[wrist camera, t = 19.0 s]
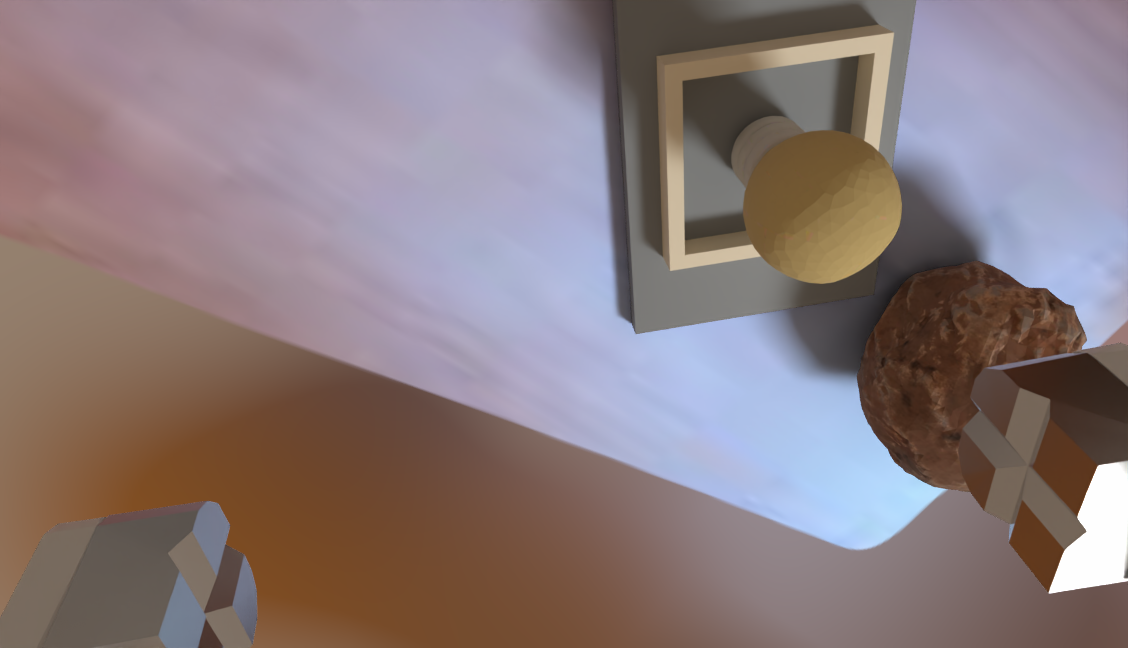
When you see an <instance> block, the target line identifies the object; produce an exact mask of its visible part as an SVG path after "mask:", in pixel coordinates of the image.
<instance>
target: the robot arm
mask: <svg viewBox="0 0 1128 648" xmlns="http://www.w3.org/2000/svg"><path fill="white" fill-rule="evenodd" d="M970 398H971V399H972V401H973V402H974V403H975V405H976V406H977V408H978V409H979V410H980V411H979V412H978V413H977V414H976V415H975V416H974V417H973V418H972V419H971V420H970V421H969V422H968V423H967V424H966V425H965V426H964V427H963V428H962V433H961V438H960V444H959V449H958V454H959V460H960V465H961V471H962V476H963V478H964V480H965V482H966V484H967V486H968V488H969V491H970V492H971V494H972V495H973V497H974V498H975V499H976V501H977V502H978V503H979V505H980V506H981V507H982V509H983V510H984V511H985V512H987V513H989V514H991V515H993V516H995V517H997V518H999V519H1001V520H1003V521H1005V522H1007V523H1009V524H1010V532H1009V544H1010V545H1011V546H1012V548H1013V549H1014V550H1015V551H1016V553H1017V554H1018V555H1019V556H1020V558H1021V559H1022V560H1023V562H1024V563H1025V564H1026V565H1027V567H1028V568H1029V569H1030V570H1031V572H1032V573H1033V574H1034V575H1035V577H1036V578H1037V579H1038V581H1039V582H1040V583H1041V584H1042V586H1043V587H1044V588H1045V590H1046V591H1047V592H1048V593H1054V592H1060V591H1066V590H1072V589H1078V588H1084V587H1091V586H1097V585H1103V584H1109V583H1115V582H1121V581H1128V345H1126V344H1122V343H1117V344H1111V345H1106V346H1101V347H1095V348H1090V349H1084V350H1079V351H1075V352H1073V353H1065V354H1060V355H1054V356H1049V357H1043V358H1038V359H1032V360H1026V361H1021V362H1015V363H1010V364H1004V365H999V366H993V367H987V368H984V369H983V370H982V371H981V373H980V374H979V375H978V376H977V377H976V379H975V381H974V385H973V389H972V392H971V396H970ZM229 527H230V525H229V523H228V521H227V519H226V517H225V516H224V514H223V512H222V510H221V508H220V506H219V505H218V503H213V502H209V501H204V502H197V503H190V504H184V505H177V506H170V507H163V508H156V509H149V510H143V511H136V512H129V513H122V514H115V515H109V516H108V517H104V518H97V519H89V520H82V521H75V522H68V523H61V524H57V525H56V526H54V527H53V528H52V529H50V530H49V531H48V532H47V533H45V534H44V535H43V537H42V539H41V541H40V542H39V544H38V546H37V548H36V550H35V552H34V554H33V556H32V558H31V560H30V561H29V563H28V565H27V568H26V570H25V571H24V573H23V575H22V577H21V579H20V581H19V583H18V585H17V586H16V588H15V590H14V592H13V594H12V596H11V598H10V600H9V602H8V604H7V606H6V607H5V609H4V611H3V613H2V615H1V617H0V648H250V647H251V646H252V644H253V639H254V633H255V628H256V622H257V591H256V587H255V582H254V579H253V574H252V570H251V568H250V566H249V564H248V562H247V560H246V558H245V555H244V554H242V553H240V552H238V551H237V550H235V549H233V548H231V547H229V546H227V545H226V544H225V543H226V539H227V535H228V531H229Z"/></svg>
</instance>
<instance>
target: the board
mask: <svg viewBox="0 0 1128 648" xmlns="http://www.w3.org/2000/svg"><path fill="white" fill-rule="evenodd" d="M612 2H613V18H614V35H615V52H616V68H617V85H618V101H619V118H620V135H621V151H622V168H623V184H624V201H625V218H626V234H627V251H628V267H629V284H630V301H631V317H632V326H633V328H634V331H635V334H639V333H645V332H651V331H657V330H663V329H669V328H676V327H682V326H688V325H694V324H700V323H706V322H712V321H718V320H724V319H730V318H736V317H742V316H748V315H754V314H760V313H766V312H772V311H779V310H785V309H791V308H797V307H803V306H809V305H815V304H821V303H827V302H833V301H839V300H845V299H851V298H857V297H863V296H869V295H874V290H875V283H876V276H877V270H878V263H879V256H880V255H879V256H878V257H877V258H876V259H875V260H874V261H873V262H872V263H870V264H869V265H867V266H866V267H864V268H863V269H862V270H860V271H858V272H856V273H854V274H853V275H851V276H849V277H847V278H844V279H841V280H838V281H836V282H831V283H824V284H819V283H808V282H804V281H800V280H797V279H794V278H791V277H788V276H787V275H785V274H783V273H781V272H779V271H778V270H776V269H775V268H773V267H772V266H771V265H769V264H768V263H767V262H766V261H765V260H764V259H763V258H762V257H761V256H760V255H759V253H758V252H757V251H756V250H755V248H754V246H753V245H752V243H751V241H750V238H749V236H748V234H747V232H746V227H745V222H744V217H743V202H744V194H745V190H746V188H745V187H744V185H743V183H742V182H741V181H740V180H739V179H738V178H737V176H736V175H735V173H734V171H733V168H732V164H731V154H732V149H733V146H734V143H735V141H736V139H737V137H738V136H739V134H740V133H741V132H742V131H743V130H744V129H745V128H746V127H747V126H748V125H750V124H751V123H752V122H754V121H756V120H758V119H761V118H763V117H768V116H783V117H786V118H788V119H790V120H792V121H794V122H795V123H796V124H797V125H798V126H799V127H800V128H801V129H803V130H804V131H805V132H810V131H819V130H834V131H840V132H845V133H849V134H851V135H854V136H856V137H859V138H861V139H863V140H864V141H866V142H867V143H869V144H871V145H872V146H873V147H874V148H875V149H876V150H877V151H879V152H880V153H881V154H882V155H883V157H884V158H885V159H886V160H887V162H888V163H889V165H890V167H891V168H892V165H893V158H894V152H895V145H896V138H897V131H898V124H899V117H900V110H901V103H902V96H903V89H904V82H905V75H906V68H907V61H908V54H909V47H910V40H911V33H912V27H913V20H914V13H915V6H916V0H612Z"/></svg>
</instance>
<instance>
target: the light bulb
mask: <svg viewBox="0 0 1128 648" xmlns="http://www.w3.org/2000/svg"><path fill="white" fill-rule="evenodd" d="M731 164H732V168H733V171H734V173H735V175H736V176H737V178H738V179H739V180H740V181H741V182H742V183H743V185H744V187H745V188H746V190H745V194H744V202H743V217H744V222H745V227H746V232H747V234H748V236H749V238H750V241H751V243H752V245H753V246H754V248H755V250H756V251H757V252H758V253H759V255H760V256H761V257H762V258H763V259H764V260H765V261H766V262H767V263H768V264H769V265H771V266H772V267H773V268H775V269H776V270H778V271H779V272H781V273H783V274H785V275H787V276H788V277H791V278H794V279H797V280H800V281H804V282H808V283H819V284H824V283H831V282H836V281H838V280H841V279H844V278H847V277H849V276H851V275H853V274H854V273H856V272H858V271H860V270H862V269H863V268H864V267H866V266H867V265H869V264H870V263H872V262H873V261H874V260H875V259H876V258H877V257H878V256H879V255H880V254H881V253H882V252H883V251H884V249H885V248H886V247H887V246H888V245H889V243H890V242H891V241H892V239H893V238H894V236H895V234H896V232H897V230H898V228H899V225H900V221H901V212H902V201H901V193H900V189H899V185H898V181H897V179H896V177H895V174H894V172H893V170H892V168H891V167H890V165H889V163H888V162H887V160H886V159H885V158H884V157H883V155H882V154H881V153H880V152H879V151H877V150H876V149H875V148H874V147H873V146H872V145H871V144H869V143H867V142H866V141H864V140H863V139H861V138H859V137H856V136H854V135H851V134H849V133H845V132H840V131H834V130H819V131H810V132H805V131H804V130H803V129H801V128H800V127H799V126H798V125H797V124H796V123H795V122H794V121H792V120H790V119H788V118H786V117H783V116H768V117H763V118H761V119H758V120H756V121H754V122H752V123H751V124H750V125H748V126H747V127H746V128H745V129H744V130H743V131H742V132H741V133H740V134H739V136H738V137H737V139H736V141H735V143H734V146H733V149H732V154H731Z"/></svg>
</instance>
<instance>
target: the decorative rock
mask: <svg viewBox="0 0 1128 648" xmlns="http://www.w3.org/2000/svg"><path fill="white" fill-rule="evenodd" d="M1086 341H1087V338H1086V335H1085V332H1084V330H1083V328H1082V326H1081V324H1080V321H1079V319H1078V317H1077V315H1076V312H1075V309H1074V306H1071V305H1068V304H1065V303H1064V302H1062V301H1061V300H1060V299H1058V298H1057V297H1056V296H1055V295H1053V294H1052V293H1051V292H1050V291H1049V290H1048V289H1047V288H1028V287H1025V286H1024V285H1022V284H1020V283H1019V282H1017V281H1016V280H1015V279H1014V278H1012V277H1011V276H1010V275H1008V274H1006V273H1005V272H1003V271H1002V270H999V269H997V268H995V267H994V266H991V265H988V264H985V263H982V262H979V261H973V262H969V263H963V264H961V265H958V266H948V267H942V268H937V269H932V270H928V271H924V272H920V273H916V274H914V275H912V276H911V277H909V278H908V279H907V280H906V281H905V282H904V283H903V284H902V285H901V286H900V288H899V290H898V291H897V293H896V294H895V295H894V296H893V297H892V299H891V301H890V302H889V304H888V306H887V307H886V309H885V311H884V313H883V314H882V316H881V318H880V320H879V322H878V323H877V324H876V326H875V327H874V330H873V331H872V333H871V334H870V336H869V338H868V340H867V342H866V346H865V351H864V354H863V356H862V358H861V365H860V369H859V372H858V374H857V382H858V387H859V394H860V401H861V406H862V410H863V412H864V415H865V417H866V419H867V422H868V424H869V425H870V426H871V428H872V430H873V432H874V433H875V435H876V436H877V437H878V439H879V440H880V441H881V442H882V443H883V445H884V446H885V447H886V448H887V449H888V451H889V454H890V456H891V457H892V459H893V460H894V462H895V463H896V464H898V465H899V466H900V467H901V468H903V470H904V471H905V472H907V473H909V474H911V475H913V476H915V477H916V478H918V479H919V480H921V481H923V482H925V483H927V484H929V485H931V486H933V487H938V488H944V489H951V490H959V491H965V492H970V491H969V488H968V486H967V484H966V482H965V480H964V478H963V476H962V471H961V465H960V460H959V454H958V449H959V444H960V438H961V433H962V428H963V427H964V426H965V425H966V424H967V423H968V422H969V421H970V420H971V419H972V418H973V417H974V416H975V415H976V414H977V413H978V412H979V411H980V410H979V409H978V408H977V406H976V405H975V403H974V402H973V401H972V399H971V398H970V396H971V392H972V389H973V385H974V381H975V379H976V377H977V376H978V375H979V374H980V373H981V371H982V370H983V369H984V368H987V367H993V366H999V365H1004V364H1010V363H1015V362H1021V361H1026V360H1032V359H1038V358H1043V357H1049V356H1054V355H1060V354H1065V353H1073V352H1075V351H1079V350H1082V346H1083V344H1084V343H1085V342H1086Z"/></svg>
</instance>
